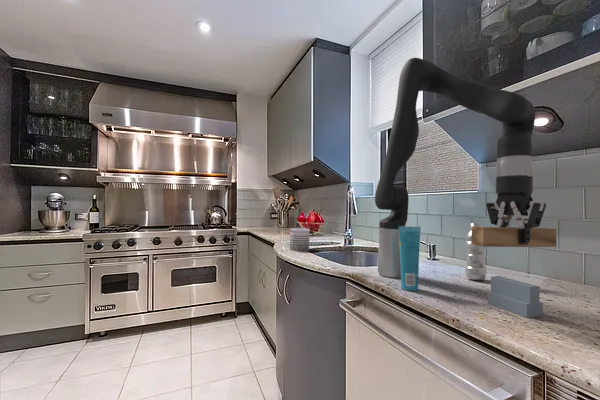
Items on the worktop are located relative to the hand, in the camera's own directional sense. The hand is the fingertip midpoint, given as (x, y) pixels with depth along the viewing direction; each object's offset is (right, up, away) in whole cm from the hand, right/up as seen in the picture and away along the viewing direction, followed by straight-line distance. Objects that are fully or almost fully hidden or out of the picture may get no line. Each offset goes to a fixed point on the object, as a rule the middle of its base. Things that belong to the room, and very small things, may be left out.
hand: (513, 242), depth 72 cm
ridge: (0, -17, 0) cm, 17 cm away
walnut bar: (0, -1, 0) cm, 1 cm away
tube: (-20, -17, +16) cm, 31 cm away
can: (-54, -18, +91) cm, 107 cm away
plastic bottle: (+8, -18, +29) cm, 35 cm away
